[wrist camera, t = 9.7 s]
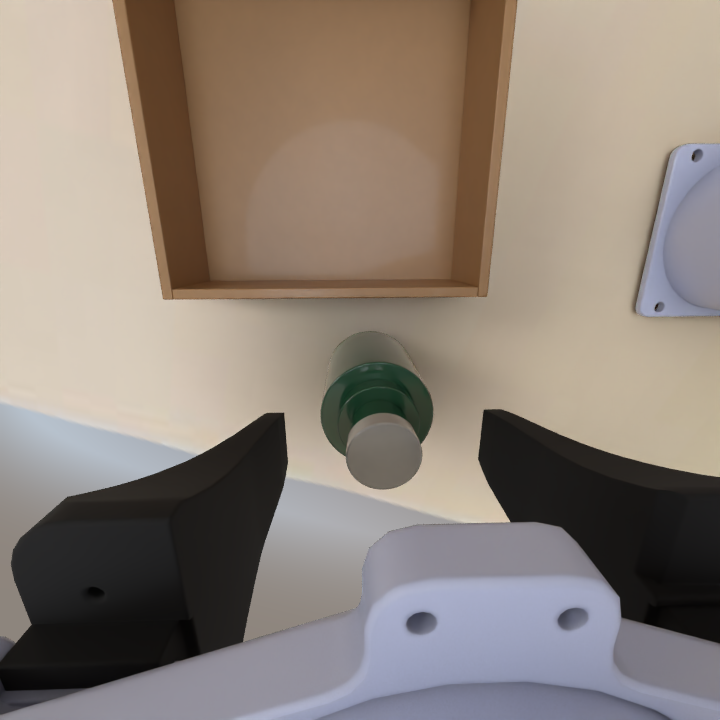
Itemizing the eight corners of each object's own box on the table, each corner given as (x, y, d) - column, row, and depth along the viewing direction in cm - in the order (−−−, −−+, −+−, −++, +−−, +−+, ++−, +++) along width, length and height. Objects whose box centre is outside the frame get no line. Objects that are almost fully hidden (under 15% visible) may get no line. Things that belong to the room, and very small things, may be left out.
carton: (163, -37, 14) (84, -158, 10) (479, -31, 14) (533, -147, 10) (206, 288, 18) (162, 299, 14) (455, 286, 18) (487, 296, 14)
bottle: (412, 330, 19) (460, 390, 11) (409, 408, 20) (449, 514, 12) (326, 331, 19) (309, 393, 11) (329, 410, 20) (316, 517, 12)
